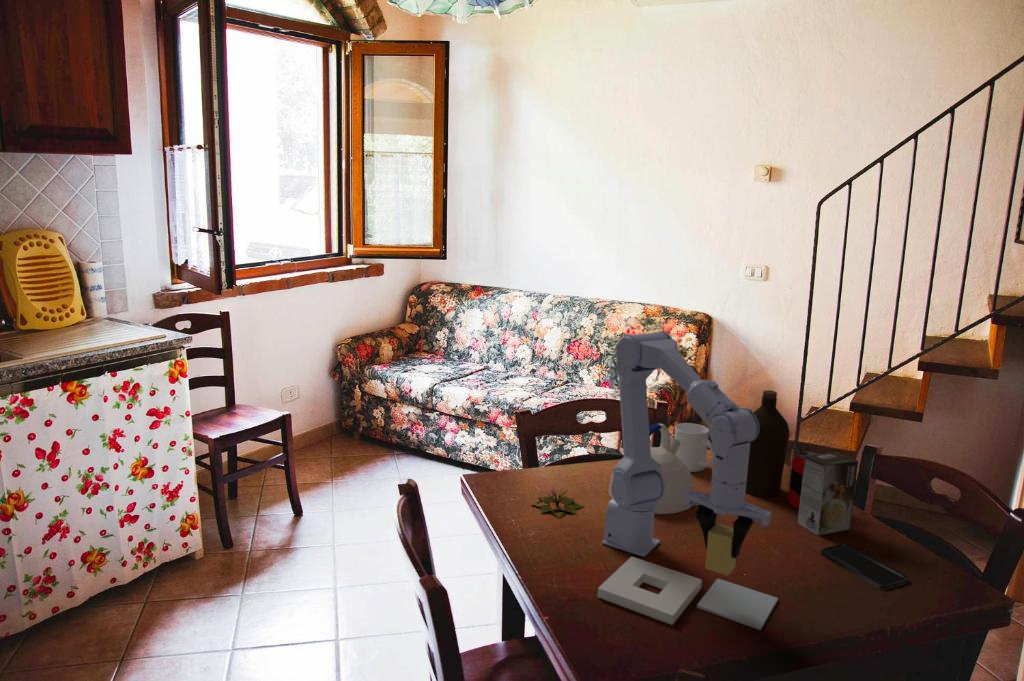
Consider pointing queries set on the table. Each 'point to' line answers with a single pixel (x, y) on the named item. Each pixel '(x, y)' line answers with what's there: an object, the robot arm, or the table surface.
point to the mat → (738, 603)
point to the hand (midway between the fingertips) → (722, 551)
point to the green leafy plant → (563, 500)
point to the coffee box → (827, 492)
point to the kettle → (669, 473)
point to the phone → (864, 566)
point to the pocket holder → (659, 606)
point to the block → (720, 550)
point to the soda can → (797, 478)
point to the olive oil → (767, 449)
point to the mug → (693, 445)
